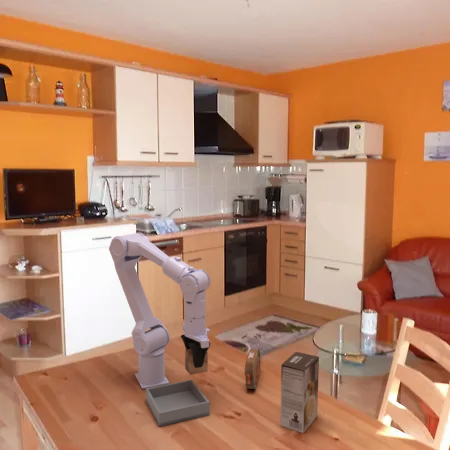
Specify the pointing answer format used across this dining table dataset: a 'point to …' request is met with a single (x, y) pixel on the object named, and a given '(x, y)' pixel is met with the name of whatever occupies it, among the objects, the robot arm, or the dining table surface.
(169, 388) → the bin
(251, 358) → the tin
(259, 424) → the dining table surface
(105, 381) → the dining table surface
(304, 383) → the coffee box
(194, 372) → the block
